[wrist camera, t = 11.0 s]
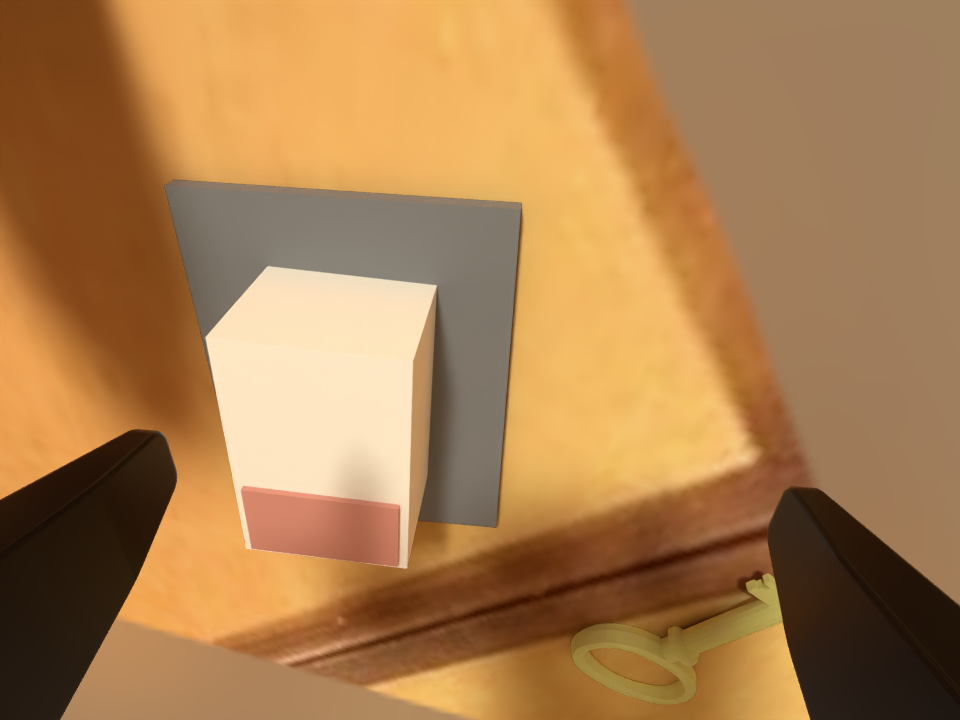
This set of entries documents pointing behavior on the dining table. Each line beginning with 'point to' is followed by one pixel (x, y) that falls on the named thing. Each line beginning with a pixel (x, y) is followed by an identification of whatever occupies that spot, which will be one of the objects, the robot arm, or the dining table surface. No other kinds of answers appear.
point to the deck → (327, 412)
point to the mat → (391, 256)
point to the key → (675, 645)
